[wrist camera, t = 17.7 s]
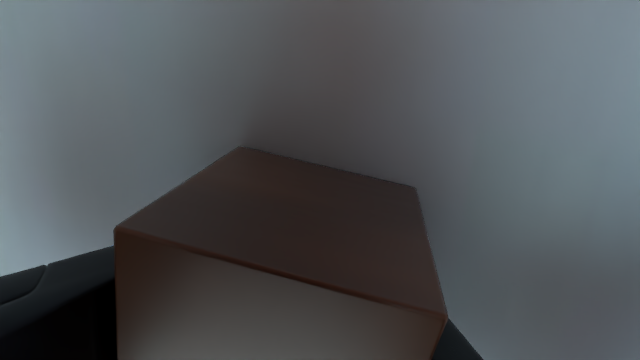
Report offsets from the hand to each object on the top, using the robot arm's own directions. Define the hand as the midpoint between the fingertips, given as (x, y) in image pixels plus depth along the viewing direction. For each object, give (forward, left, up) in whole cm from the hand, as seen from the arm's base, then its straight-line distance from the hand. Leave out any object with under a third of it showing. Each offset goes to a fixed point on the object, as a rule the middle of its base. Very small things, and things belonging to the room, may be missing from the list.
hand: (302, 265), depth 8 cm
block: (0, 0, -1) cm, 1 cm away
